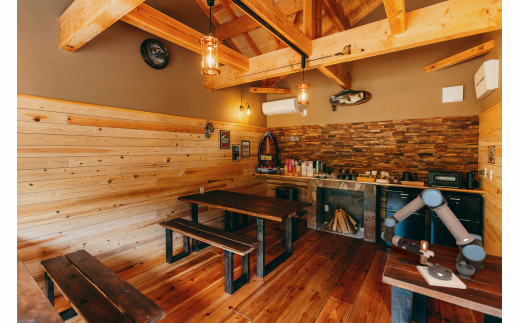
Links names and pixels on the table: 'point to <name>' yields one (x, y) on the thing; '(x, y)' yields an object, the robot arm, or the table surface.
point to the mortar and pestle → (465, 270)
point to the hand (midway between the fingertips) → (431, 255)
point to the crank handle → (434, 266)
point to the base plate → (454, 282)
